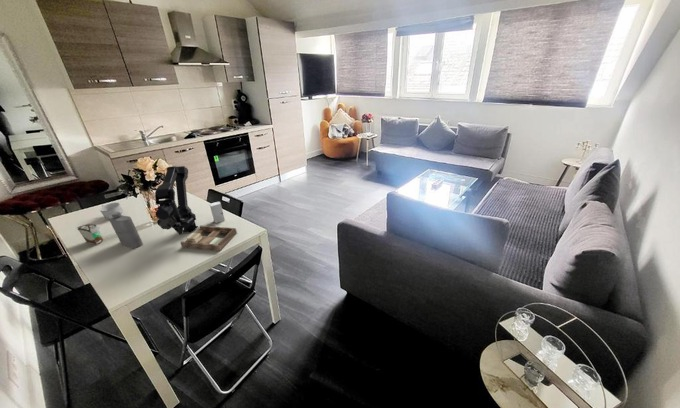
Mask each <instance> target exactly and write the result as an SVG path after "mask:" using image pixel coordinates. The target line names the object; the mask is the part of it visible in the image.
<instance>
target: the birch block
mask: <svg viewBox="0 0 680 408" xmlns="http://www.w3.org/2000/svg"><path fill="white" fill-rule="evenodd" d="M200 239H202V236H201V234H200V233H196V232H191V233H190V235H188V236H187V237H186V240H187V241H188V242H195V243H197V242H198V241H199V240H200Z"/></svg>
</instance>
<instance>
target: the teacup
mask: <svg viewBox="0 0 680 408" xmlns="http://www.w3.org/2000/svg"><path fill="white" fill-rule="evenodd" d="M99 212H100V213H101V215H102V216H103V217H104V218H105V219H108V216H109V215H111V214H113V213H115V212H120V214H121V215H122V214H123V212H124V210H123V208H122V206H121V203H120V202H117V201H116V202H111V203H107V204H102V205H101V207H100V208H99Z"/></svg>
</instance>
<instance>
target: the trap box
mask: <svg viewBox="0 0 680 408" xmlns="http://www.w3.org/2000/svg"><path fill="white" fill-rule="evenodd" d="M195 233H200V234H201V236H202V239H200V240H199V241H198V242H197V243H195V242H188V241H187V239H186V240H185V241H183V240H181V241H180V246H181V248H183V249H192V250H193V249H194V250H202V251H203V250H204V251H213V252H222V250H223V249H224V248H225V247H226V246H227V245H228V244H229V243H230V242H231V241H232V240H233V238H234V237H235V236H236V235H237V234H238V231H237V228H236V227H235V228H234V227H224V226H212V225H211V226H210V225H200V226H199V229H198V230H197V231H195Z"/></svg>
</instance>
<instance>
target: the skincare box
mask: <svg viewBox="0 0 680 408" xmlns="http://www.w3.org/2000/svg"><path fill="white" fill-rule="evenodd" d="M209 206H210V211H211V214H212V217H213V221H214V223H215V224H217V223H221V222H225V221H226V219H225V215H224V212H223V207H222V203H221V201H216V202H212V203H209Z"/></svg>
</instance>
